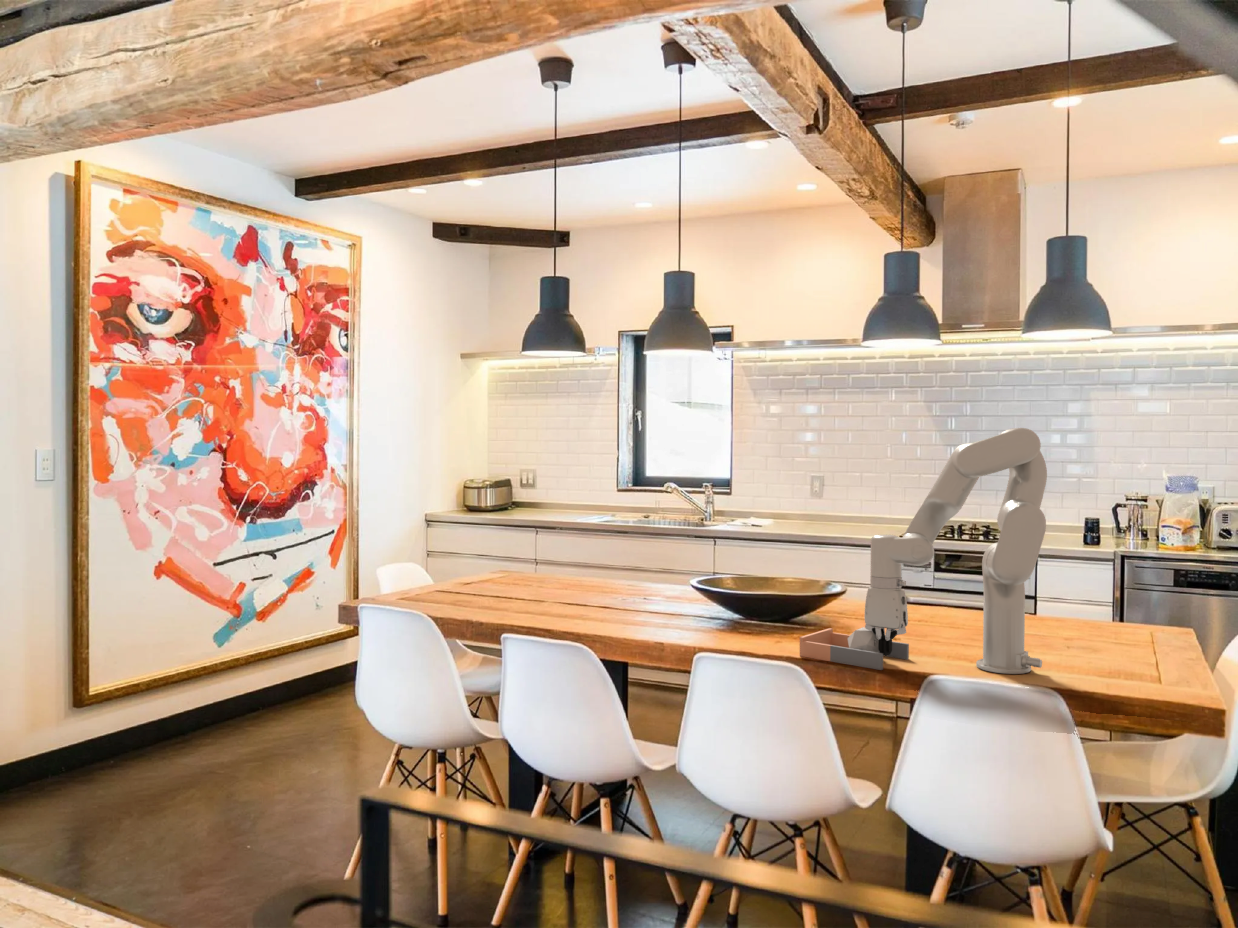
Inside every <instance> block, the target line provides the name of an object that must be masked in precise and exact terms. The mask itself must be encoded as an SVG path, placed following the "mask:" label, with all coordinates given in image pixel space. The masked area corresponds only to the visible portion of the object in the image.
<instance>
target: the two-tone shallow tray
mask: <svg viewBox="0 0 1238 928" xmlns="http://www.w3.org/2000/svg"><path fill="white" fill-rule="evenodd" d="M850 635H851V634H846V633H840V632H834V630H833V628H831V627H829V628H826V629H823V630H819V631H816V632H813V633H809V634H806V635H802V636H799V657H803V658H808V659H809V658H811V659H816V660H821V661H827V662H833V663H837V664H844V665H850V666H854V667H855V666H856V667H862V668H866V669H867V668H868V669H872V670H879V671H882V670H884V657H885V656H884V655H883V653H880V652H879V653H877V652H871V651H865V650H859V649H853V648H849V644H848V639H847V638H848V637H849V636H850ZM909 646H910V644H909V643H906V642H901V641H900V642H899V641H893V640H892V652H891V654H890V655H887V656H886V657H888V658H895V659H899V660H900V659H901V660H906V661H907V660H909V659H910V658H909V657H910V656H909V655H910V652H909V651H910V647H909Z"/></svg>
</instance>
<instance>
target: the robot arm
mask: <svg viewBox="0 0 1238 928" xmlns="http://www.w3.org/2000/svg"><path fill="white" fill-rule="evenodd" d="M1041 445H1042V443H1041V439H1040V438H1039V435H1038V434H1037V433H1035V432H1034V431H1033V430H1031V429H1029V428H1025V427H1012V428H1008V429H1006V430H1004V431H1002V432H1001V433H1000V434H997V435H994V436H991V437H988V438H985V439H980V440H978V441H975V442H967V443H962V444H960V445H958V446H957V447H956V448H954V450H953V452H951V454H950V456H949V458H948V460H947V461H946V463H945V465H944V466H943V469H942V470H941V472H940V474H939V475H938V477H937V479H936V481H935V482H934V484H933V485H932V487H931V489H930V491H929V493H928V494H927V495H926V497H925V498H924V501H923V503H922V504H921V506H920V507H919V509H918V510H917V512H916V513H915V515H914V517H913V518H912V520H911V522H910V524H909V525H908V527H907V529H906V531H905V532H904V534H903V536H902V537H900V536H897V535H893V534H875V535H873V536H872V537H871V539H870V586H869V587H868V588H867V591H866V597H865V603H864V623H865V625H864V628H866V629H868V630H870V631H873V633H874V634H875V635H876V637H877V639H879V644H878V649H879V651H880V653H883V655H884V656H883V657H887V655H890V654H891V652H892V641H893V640H894V639H895V637H896V636H897V635H898V636H899V635H904V634H907V628H906V627H907V626H908V625H909V624H908V623H909V616H908V615H909V614H908V613H909V611H908V602H907V597H906V591H905V589H904V588H902V587H906V585H907V581H906V580H903V579H902V578H903V577H902V565H908V566H909V565H910V566H917V567H920V566H921V567H922V566H924V565H928V564H929V563H930V562H931V561H932V560H933V558H934V555H935V547H934V546H933V544H934V542H935V541H936V539H937V537H938V536H939V533H940V532H941V531H942V529H943V528H944V527H945V525H946V524H947V522H949V521H950V520H951V519H952V518H954V517H955V516H957V514H958V513H959V512H960V510H961V509H962V508H963V506H964V505H965V502H966V501H967V499H968V497H969V496H970V493H971V492H972V491H973V488H974V487H975V486H976V484H977V483H978V480H979V478H980V477H985V476H988V475H991V474H995V473H999V472H1001V471H1005V470H1009V473H1008V474H1009V475H1008V480H1007V487H1006V489H1005V493H1004V495H1003V498H1002V501H1001V502H1002V503H1001V506H1000V508H999V511H998V514H997V518H996V519H997V520H996V523H997V526H998V529H999V531H1000V533H999V536H998V537H999V538H998V541H997V542H994V543H991V545H989V546H988V547H987V548H986V550H985V551H984V552H983V556H982V561H981V569H982V582H983V583H982V586H983V618H982V619H983V620H982V621H983V622H982V623H983V624H982V625H983V626H982V627H983V628H982V630H983V634H982V635H983V637H982V639H983V640H982V641H983V644H982V645H983V646H982V658H980V659H977V660H976V662H975V663H976V665H975V667H977V668H978V669H980V670H982V671H986V672H989V673H996V674H1005V675H1006V674H1007V675H1018V674H1019V675H1023V674H1028V673H1030V672H1031V671H1032V667H1034V668H1040V669H1041V668H1042V666H1043V661H1042V659H1041V658H1038V657H1030V656H1029V651H1027V650H1025V632H1026V631H1025V621H1026V619H1025V616H1026V615H1025V611H1026V610H1025V608H1026V589H1025V582H1026V581H1028V580H1029V579H1030V577H1031V576H1032V574H1033V572H1034V570H1035V568H1036V564H1037V561H1038V559H1039V558H1038V557H1039V555H1040V551H1041V547H1042V544H1043V541H1044V538H1045V534H1046V529H1047V519H1046V515H1045V514H1044V511H1042V509H1041V505H1042V502H1043V497H1044V494H1045V489H1046V485H1047V480H1048V470H1047V469H1048V468H1047V465H1046V461H1045V458H1044V456H1043V453H1042V451H1041Z"/></svg>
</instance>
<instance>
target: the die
mask: <svg viewBox="0 0 1238 928" xmlns="http://www.w3.org/2000/svg"><path fill="white" fill-rule="evenodd" d="M849 635H850V636H849V637H848V638H847V639H848V644H849V648H853V649H859V650H865V651H871V652H877V653H879V652H880V651H879V649H878V644H879V639H877V637H876V635H875V634H874V633H873V631H870V630H868V629H866V628H865V626H863V627H860V628H858V629H855V630H854V631H853V632H852V633H851V634H849Z"/></svg>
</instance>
